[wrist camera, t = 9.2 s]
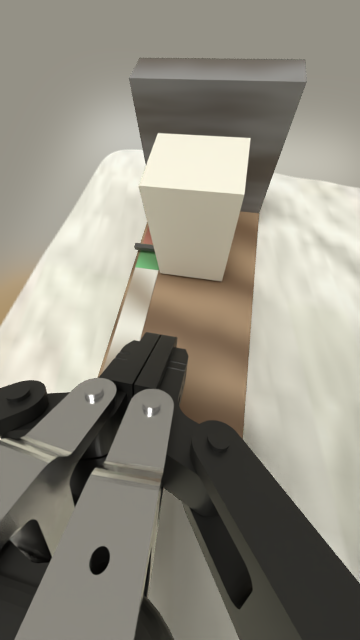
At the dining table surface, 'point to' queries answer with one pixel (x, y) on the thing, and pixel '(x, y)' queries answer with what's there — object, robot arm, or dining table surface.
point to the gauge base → (238, 280)
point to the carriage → (193, 201)
